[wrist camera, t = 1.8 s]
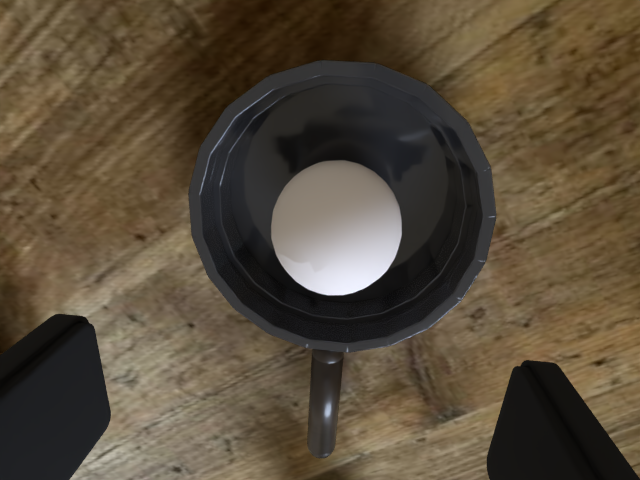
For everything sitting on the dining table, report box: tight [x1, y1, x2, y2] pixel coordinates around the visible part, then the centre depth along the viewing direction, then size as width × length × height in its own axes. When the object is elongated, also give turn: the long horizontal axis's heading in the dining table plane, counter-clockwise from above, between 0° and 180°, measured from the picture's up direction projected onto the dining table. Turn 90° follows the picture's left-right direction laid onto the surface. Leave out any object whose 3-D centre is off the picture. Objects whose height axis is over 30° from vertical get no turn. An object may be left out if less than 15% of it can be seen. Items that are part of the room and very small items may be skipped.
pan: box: [188, 60, 496, 353], centre depth 20 cm, size 14×14×4 cm
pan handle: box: [307, 349, 344, 458], centre depth 24 cm, size 9×2×2 cm, turn 177°
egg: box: [271, 160, 402, 295], centre depth 18 cm, size 6×6×8 cm
